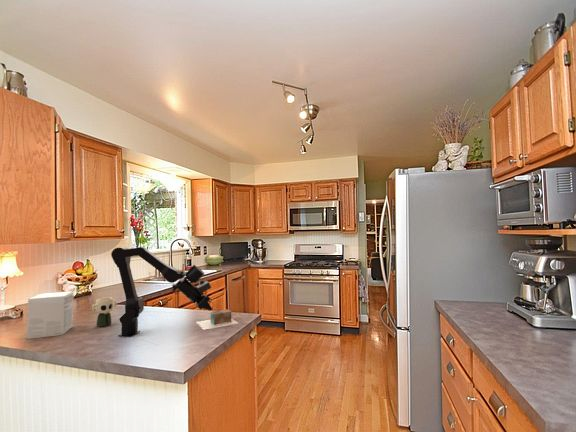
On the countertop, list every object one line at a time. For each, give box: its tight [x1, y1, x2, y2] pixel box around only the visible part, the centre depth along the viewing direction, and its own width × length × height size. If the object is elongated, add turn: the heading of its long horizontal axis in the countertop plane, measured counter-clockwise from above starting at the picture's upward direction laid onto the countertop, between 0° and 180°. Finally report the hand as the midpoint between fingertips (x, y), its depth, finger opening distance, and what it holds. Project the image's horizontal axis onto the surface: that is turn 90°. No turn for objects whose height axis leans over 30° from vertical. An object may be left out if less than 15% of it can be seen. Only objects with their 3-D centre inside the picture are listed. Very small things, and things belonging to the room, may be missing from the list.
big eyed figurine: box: [91, 297, 117, 327], centre depth 140 cm, size 11×7×13 cm, turn 145°
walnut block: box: [210, 308, 232, 325], centre depth 140 cm, size 5×5×9 cm
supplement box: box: [25, 290, 74, 340], centre depth 131 cm, size 13×13×18 cm
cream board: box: [196, 317, 239, 331], centre depth 139 cm, size 17×14×1 cm
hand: (211, 309), depth 138 cm, fingers closed
